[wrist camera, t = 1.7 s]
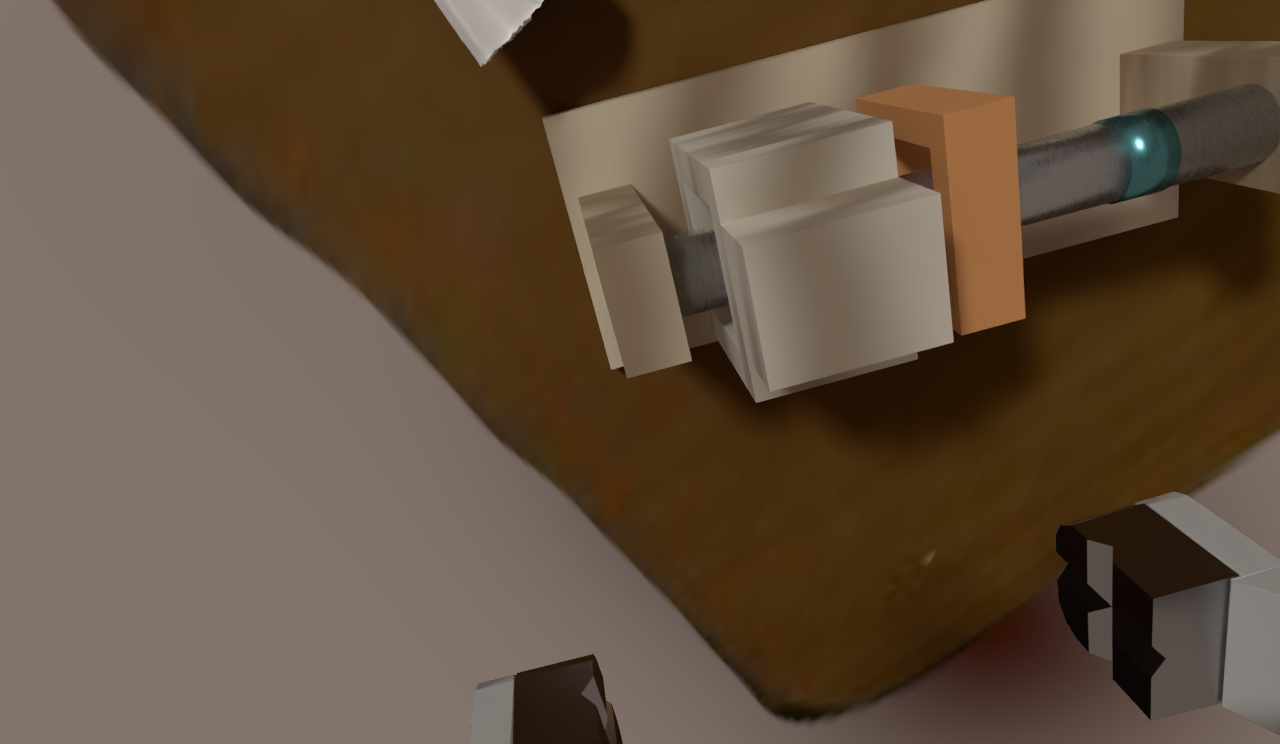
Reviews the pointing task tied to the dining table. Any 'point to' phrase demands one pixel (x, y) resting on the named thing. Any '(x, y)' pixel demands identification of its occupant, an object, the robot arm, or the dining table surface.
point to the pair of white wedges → (487, 22)
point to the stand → (835, 76)
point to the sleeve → (816, 246)
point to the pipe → (1072, 170)
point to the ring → (966, 191)
